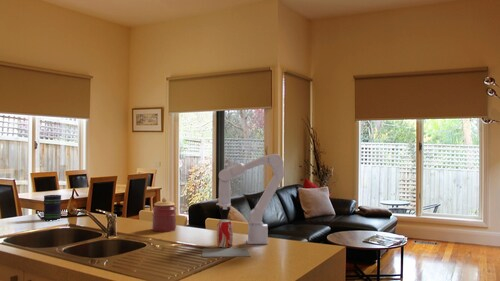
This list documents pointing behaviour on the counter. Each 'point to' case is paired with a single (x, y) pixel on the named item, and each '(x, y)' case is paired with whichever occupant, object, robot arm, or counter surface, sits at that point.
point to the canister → (164, 216)
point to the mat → (226, 252)
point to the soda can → (224, 233)
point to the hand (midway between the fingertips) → (224, 222)
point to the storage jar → (52, 207)
